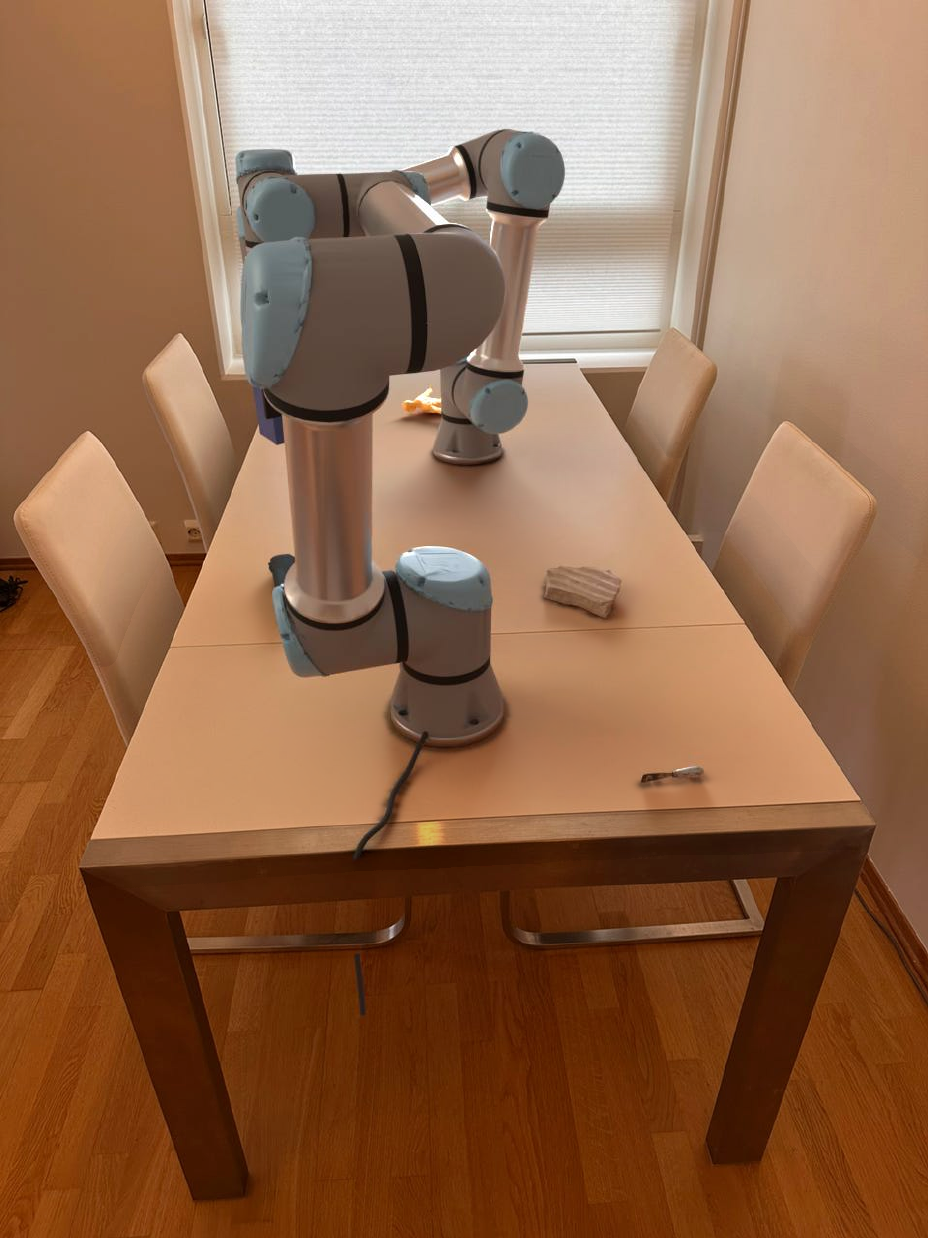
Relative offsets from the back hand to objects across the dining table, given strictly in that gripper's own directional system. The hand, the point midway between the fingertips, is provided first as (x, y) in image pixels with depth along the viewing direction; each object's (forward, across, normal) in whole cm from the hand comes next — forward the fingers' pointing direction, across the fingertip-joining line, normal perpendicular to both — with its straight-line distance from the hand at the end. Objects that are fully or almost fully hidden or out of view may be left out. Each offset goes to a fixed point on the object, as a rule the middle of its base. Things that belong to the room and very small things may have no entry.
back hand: (286, 423), depth 170 cm
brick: (+2, 0, 0) cm, 2 cm away
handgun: (+17, +33, -15) cm, 40 cm away
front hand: (-12, +35, -14) cm, 40 cm away
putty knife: (+17, +101, 0) cm, 102 cm away
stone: (+17, +62, +21) cm, 67 cm away
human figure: (+18, -28, +57) cm, 66 cm away
